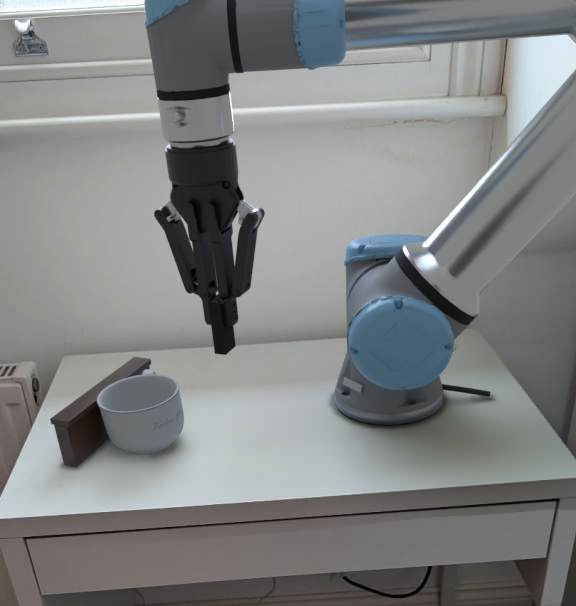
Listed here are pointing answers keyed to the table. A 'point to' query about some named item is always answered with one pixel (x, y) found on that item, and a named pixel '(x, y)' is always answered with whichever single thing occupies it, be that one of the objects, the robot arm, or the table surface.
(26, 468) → the table surface
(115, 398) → the teacup
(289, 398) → the table surface
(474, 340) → the table surface
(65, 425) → the back rail
